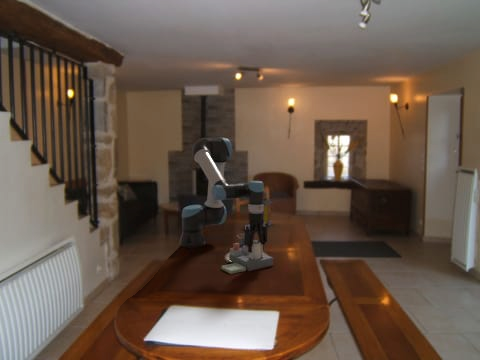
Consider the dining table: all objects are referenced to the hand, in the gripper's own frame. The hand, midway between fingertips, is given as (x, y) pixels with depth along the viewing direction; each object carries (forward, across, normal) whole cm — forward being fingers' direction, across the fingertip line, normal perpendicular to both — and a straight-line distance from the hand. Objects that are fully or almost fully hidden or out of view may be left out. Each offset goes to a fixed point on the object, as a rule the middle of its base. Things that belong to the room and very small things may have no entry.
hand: (256, 257), depth 208 cm
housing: (+4, 0, +5) cm, 6 cm away
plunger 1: (-1, -5, +11) cm, 12 cm away
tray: (+4, -13, +1) cm, 14 cm away
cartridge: (+4, 0, 0) cm, 4 cm away
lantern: (+4, +56, +71) cm, 91 cm away
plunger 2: (-1, +3, +11) cm, 11 cm away
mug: (+5, +8, +20) cm, 22 cm away
